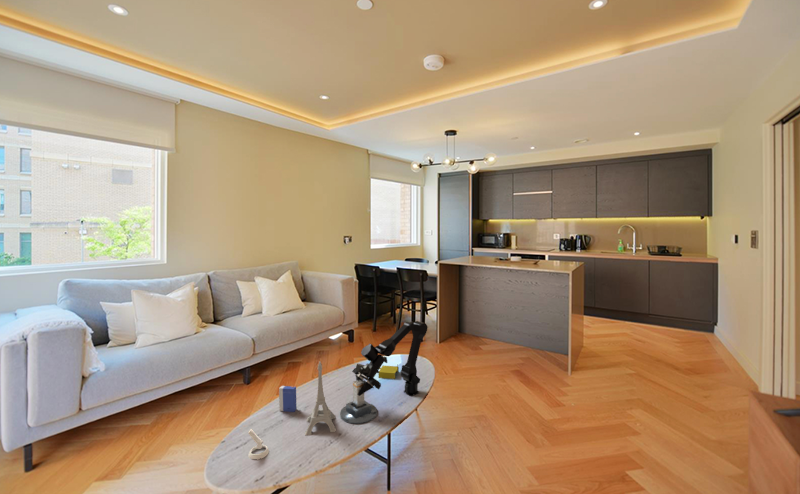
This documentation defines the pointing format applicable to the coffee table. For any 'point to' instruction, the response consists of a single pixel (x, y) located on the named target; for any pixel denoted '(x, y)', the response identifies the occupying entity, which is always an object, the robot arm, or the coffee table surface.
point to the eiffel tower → (320, 413)
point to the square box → (357, 400)
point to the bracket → (388, 372)
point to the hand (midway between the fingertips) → (356, 393)
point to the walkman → (287, 398)
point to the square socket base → (358, 413)
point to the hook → (259, 446)
